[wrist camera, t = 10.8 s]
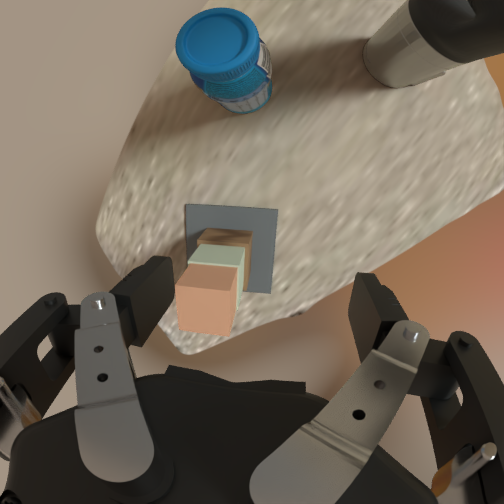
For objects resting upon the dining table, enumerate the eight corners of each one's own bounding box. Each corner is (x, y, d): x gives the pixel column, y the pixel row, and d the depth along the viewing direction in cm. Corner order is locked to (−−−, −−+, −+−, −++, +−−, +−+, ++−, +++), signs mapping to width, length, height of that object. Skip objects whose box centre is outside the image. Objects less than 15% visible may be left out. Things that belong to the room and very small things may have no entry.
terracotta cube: (237, 267, 31) (230, 291, 26) (236, 308, 33) (229, 336, 28) (190, 263, 32) (174, 285, 26) (192, 303, 33) (179, 329, 28)
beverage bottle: (248, 126, 37) (222, 104, 18) (203, 95, 36) (144, 56, 17) (285, 84, 34) (292, 28, 15) (239, 53, 33) (208, -14, 14)
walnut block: (252, 230, 42) (249, 243, 36) (250, 272, 45) (246, 290, 39) (207, 227, 42) (197, 239, 37) (207, 269, 45) (198, 286, 39)
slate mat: (277, 209, 41) (277, 210, 41) (270, 292, 46) (270, 293, 46) (186, 203, 42) (185, 204, 41) (188, 284, 47) (188, 285, 46)
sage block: (244, 247, 37) (239, 265, 31) (243, 287, 39) (237, 310, 33) (200, 243, 37) (187, 261, 31) (201, 283, 39) (189, 305, 34)
